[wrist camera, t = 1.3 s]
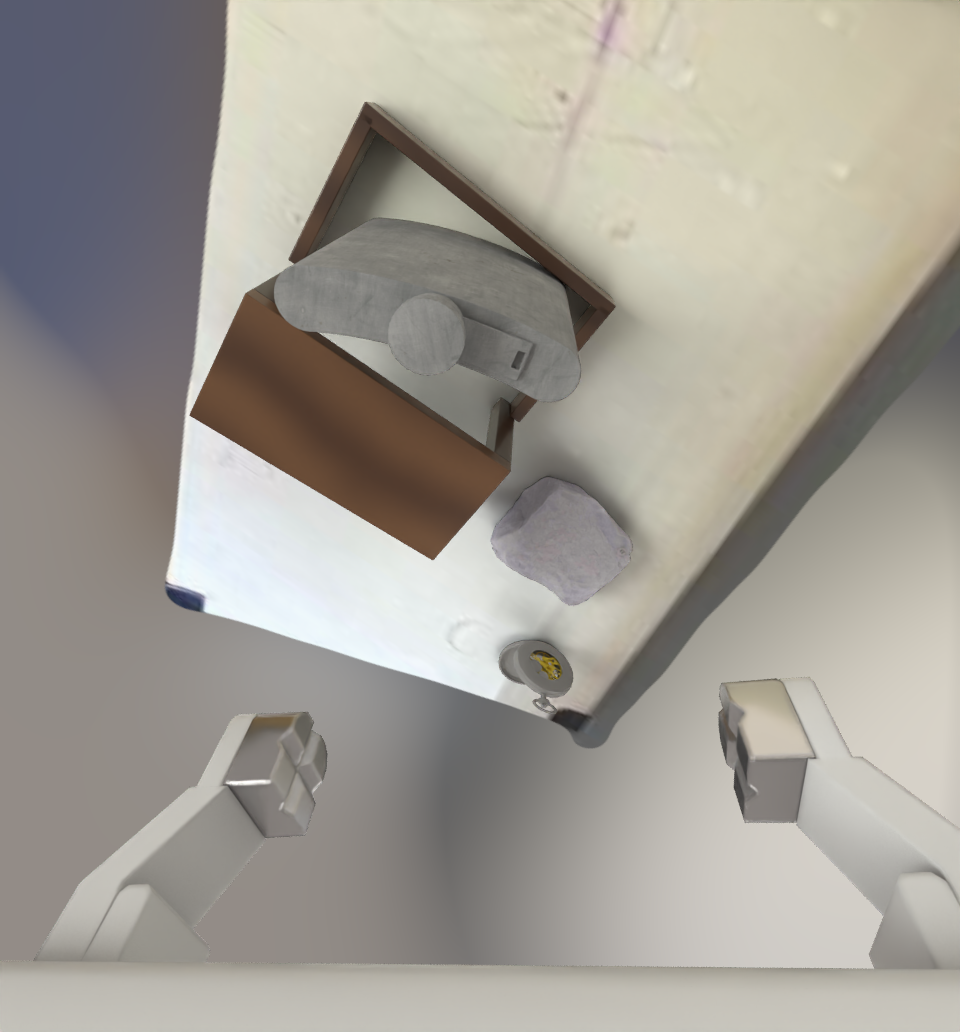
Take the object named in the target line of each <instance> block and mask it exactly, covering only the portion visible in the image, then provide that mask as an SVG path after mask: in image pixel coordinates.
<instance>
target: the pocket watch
mask: <svg viewBox="0 0 960 1032" xmlns="http://www.w3.org/2000/svg"><path fill="white" fill-rule="evenodd" d="M499 668H500V670H501V672H502V674H503V675H504V676H505V677H507V678H508V679H509V680H511V681H513V682H515V683H518V684H523V685H527V686H528V687H529V688H530V689H532V690H533V691H535V692H536V693H538V694H540V695H541V698H539V699H535V700H533V704H534V705H535V706H536V707H537V708H538V709H540V710H542V711H544V712H546V713H550V714H555V713H556V712H557V710H556V708H555V707H554V706H553V705H551V704H550V702H549V701H548V699H546V697H550V698H557V697H560V696H563V695H565V694H566V693H567V692H568V690H569V689H570V688H571V685H572V682H573V672H572V669H571V666H570V664H569V662H568V661H567V659H566V658H565V657H564V656H563V655H562V654H561V653H560V652H559V651H558V650H557V649H556V648H554V647H552V646H551V645H549V644H547V643H545V642H541V641H535V640H523V641H518V642H514V643H512V644H510V645H509V646H507V647H506V648H505V649H504V650H503V651H502V652H501V654H500V658H499ZM556 672H557V673H556ZM555 674H558V678H557V677H556V676H555ZM553 676H554V677H553ZM552 677H553V678H555V679H556V680H555V679H553V678H552ZM537 701H538V702H539V704H541V707H542V708H546V706H548V705H549V706H551V707H552V708H553V709H554V711H552V712H551V711H547V710H544V709H542V708H541V707H539V706H538V705H537V704H536V703H535V702H537Z"/></svg>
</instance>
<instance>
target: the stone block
mask: <svg viewBox="0 0 960 1032" xmlns="http://www.w3.org/2000/svg"><path fill="white" fill-rule="evenodd" d="M491 544H492V546H493V547H492V549H493V550H494V552H495V554H496V556H497V557H498V558H499V559H500V560H501V561H502V562H504V563H505V564H506V565H507V566H508V567H509V568H511V569H512V570H514V571H516V572H518V573H519V574H521V575H523V576H525V577H527V578H529V579H531V580H534V581H536V582H538V583H540V584H542V585H544V586H545V587H547V588H548V589H549V590H550V591H552V592H554V593H555V594H556V595H557V596H558V597H559V599H560V600H561V601H562V602H564V603H565V604H567V605H578V604H580V603H582V602H584V601H587V600H588V599H589V598H590V597H592V596H593V595H594V594H595V593H596V592H597V591H598V590H600V589H601V588H602V587H604V586H605V585H606V584H607V583H609V582H610V581H611V580H613V579H614V578H615V577H616V576H617V575H618V574H619V573H620V572H621V571H622V570H623V569H624V568H625V567H626V566H627V564H628V563H629V562H630V560H631V557H630V553H631V552H632V549H633V544H632V541H631V539H630V537H629V536H628V535H627V534H626V533H625V532H624V531H623V530H622V529H621V528H620V527H619V526H618V525H617V524H616V522H615V520H614V519H613V518H611V517H610V516H609V514H608V513H607V512H606V510H605V509H604V508H603V507H602V506H601V505H600V504H599V503H598V502H597V500H596V499H594V498H592V497H591V496H589V495H588V494H587V493H586V492H585V491H583V489H582V488H581V487H579V486H577V485H575V484H572V483H568V482H565V481H561V480H559V479H556V478H551V477H544V478H543V479H541V480H540V481H538V482H537V483H535V484H534V485H532V486H530V487H528V488H526V489H525V490H524V491H523V492H522V494H521V496H520V498H519V499H518V500H517V501H516V503H515V505H514V506H513V507H512V508H511V509H510V511H508V512H507V513H506V515H505V516H504V517H503V518H502V519H501V520H500V522H499V523H498V524H497V525H496V526H495V528H494V530H493V533H492V536H491Z"/></svg>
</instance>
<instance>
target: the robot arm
mask: <svg viewBox="0 0 960 1032" xmlns="http://www.w3.org/2000/svg"><path fill="white" fill-rule="evenodd" d="M719 697H720V700H721V703H722V707H723V709H722V710H721V711H720V712H719V733H720V740H721V745H722V748H723V752H724V756H725V760H726V763H727V765H728V766H730V767H731V768H732V769H733V770H734V771H735V772H734V790H735V793H736V796H737V799H738V802H739V806H740V809H741V812H742V815H743V818H744V822H745V823H788V822H789V823H797V826H798V827H799V828H800V829H801V830H802V832H803V833H804V834H805V835H806V836H807V837H808V838H809V839H810V840H811V841H812V842H813V843H814V844H815V845H816V846H817V847H818V848H819V849H820V850H821V851H822V852H823V853H824V854H825V855H826V856H827V857H828V858H829V860H830V861H831V862H832V863H833V864H834V865H835V866H836V867H837V868H838V869H839V870H840V871H841V872H842V873H843V874H844V875H845V876H846V877H847V878H848V879H849V880H850V881H851V882H852V884H853V885H854V886H855V887H856V888H857V889H858V890H859V891H860V892H861V893H862V894H863V895H864V896H865V897H866V898H867V899H868V900H869V901H870V902H871V903H872V904H873V905H874V906H875V908H876V909H877V910H878V911H879V912H880V913H881V914H882V915H883V916H884V917H883V919H882V922H881V924H880V927H879V930H878V932H877V935H876V938H875V940H874V943H873V945H872V948H871V951H870V953H869V956H870V959H871V961H872V964H873V966H874V969H841V968H839V969H837V968H836V969H835V968H834V969H833V968H736V967H734V968H732V967H631V966H627V967H626V966H528V965H526V966H525V965H424V964H423V965H422V964H421V965H419V964H416V965H415V964H315V963H313V964H312V963H310V964H309V963H206V962H207V959H208V956H209V954H210V949H209V946H208V944H207V943H206V942H205V941H204V940H203V939H202V938H201V937H200V936H199V935H198V934H197V933H196V931H194V928H195V926H196V925H197V924H198V923H199V921H200V920H201V919H202V918H203V917H204V915H205V914H206V913H207V912H208V911H209V909H210V908H211V907H212V906H213V904H214V903H215V902H216V901H217V900H218V898H219V897H220V896H221V894H222V893H223V892H224V891H225V890H226V889H227V887H228V886H229V885H230V884H231V882H232V881H233V880H234V879H235V878H236V877H237V875H238V874H239V873H240V872H241V870H242V869H243V868H244V867H245V866H246V864H247V863H248V862H249V860H251V858H252V857H253V856H254V855H255V853H256V852H257V851H258V850H259V849H260V847H261V846H262V845H263V844H264V842H265V841H266V839H265V838H274V837H290V836H305V835H306V832H307V829H308V825H309V822H310V819H311V816H312V813H313V810H314V807H315V801H314V798H313V795H312V793H313V792H314V790H315V789H316V788H317V787H318V786H319V785H320V784H321V783H322V782H323V779H324V775H325V772H326V767H327V750H326V745H325V742H324V740H323V738H322V736H321V735H319V734H317V733H316V732H314V731H313V730H311V729H312V726H313V724H314V721H313V720H312V718H311V716H310V715H309V713H308V712H288V713H261V714H243V715H236V716H235V717H234V718H233V719H232V720H231V721H230V722H229V724H228V727H227V728H226V730H225V732H224V734H223V736H222V738H221V740H220V742H219V744H218V746H217V748H216V750H215V752H214V754H213V756H212V758H211V760H210V761H209V763H208V765H207V767H206V769H205V771H204V773H203V775H202V777H201V779H200V781H199V783H198V785H197V787H190V788H189V789H187V790H186V791H185V792H184V793H183V794H182V795H181V796H179V797H178V798H177V799H176V800H175V801H174V802H173V803H171V804H170V805H169V806H168V807H167V808H166V809H164V810H163V811H162V812H161V813H160V814H159V815H158V816H156V817H155V818H154V819H153V820H152V821H151V822H149V823H148V824H147V825H146V826H145V827H144V828H143V829H141V830H140V831H139V832H138V833H137V834H136V835H135V836H133V837H132V838H131V839H130V840H129V841H128V842H126V843H125V844H124V845H123V846H122V847H121V848H119V849H118V850H117V851H116V852H115V853H114V854H113V855H111V856H110V857H109V858H108V859H107V860H106V861H104V862H103V863H102V864H101V865H100V866H99V867H98V868H96V869H95V870H94V871H93V872H92V873H91V874H90V875H88V876H87V877H86V878H85V879H84V880H83V881H81V882H80V883H79V885H78V887H77V888H76V890H75V892H74V893H73V895H72V897H71V898H70V900H69V902H68V904H67V906H66V907H65V908H64V910H63V912H62V913H61V915H60V917H59V919H58V920H57V922H56V923H55V925H54V927H53V928H52V930H51V932H50V934H49V935H48V937H47V938H46V940H45V942H44V943H43V945H42V947H41V948H40V951H39V952H38V954H37V955H36V957H35V958H34V960H33V961H0V1032H960V828H958V827H957V826H955V825H954V824H953V823H951V822H950V821H949V820H947V819H946V818H945V817H943V816H942V815H941V814H939V813H938V812H936V811H935V810H934V809H932V808H931V807H929V806H928V805H927V804H926V803H924V802H923V801H922V800H920V799H919V798H917V797H916V796H914V795H913V794H912V793H911V792H909V791H908V790H906V789H905V788H903V787H902V786H901V785H900V784H898V783H897V782H896V781H894V780H893V779H891V778H890V777H889V776H887V775H886V774H885V773H883V772H882V771H881V770H879V769H878V768H877V767H875V766H874V765H873V764H871V763H870V762H868V761H867V760H866V759H864V758H863V757H852V755H851V753H850V751H849V749H848V747H847V745H846V743H845V741H844V739H843V737H842V735H841V733H840V731H839V729H838V727H837V726H836V724H835V722H834V720H833V718H832V716H831V714H830V712H829V710H828V708H827V706H826V704H825V702H824V700H823V698H822V696H821V694H820V692H819V690H818V688H817V686H816V684H815V682H814V681H813V680H812V679H811V678H810V677H801V678H786V679H779V680H778V679H764V680H752V681H739V682H727V683H721V685H720V692H719Z"/></svg>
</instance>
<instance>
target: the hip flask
mask: <svg viewBox="0 0 960 1032" xmlns="http://www.w3.org/2000/svg"><path fill="white" fill-rule="evenodd" d="M274 299H275V303H276V306H277V308H278V310H279V312H280V313H281V315H282V316H283V317H284V319H285V320H286V321H287V322H289V323H290V324H291V325H292V326H294V327H296V328H298V329H301V330H303V331H309V332H321V333H331V334H338V335H346V336H352V337H358V338H363V339H369V340H373V341H378V342H383V343H387V344H389V346H390V348H391V349H392V353H393V354H394V356H395V357H396V359H397V360H398V361H399V362H400V363H401V365H403V366H404V367H406V368H407V369H408V370H411V371H412V372H414V373H418V374H420V375H428V376H429V375H437V374H439V373H443V372H445V371H447V370H449V369H450V368H451V367H452V366H454V365H455V364H458V365H461V366H464V367H467V368H469V369H472V370H474V371H477V372H479V373H482V374H484V375H487V376H489V377H491V378H494V379H496V380H498V381H501V382H503V383H505V384H507V385H509V386H511V387H513V388H515V389H517V390H519V391H521V392H523V393H524V394H526V395H528V396H530V397H532V398H534V399H536V400H538V401H542V402H556V401H559V400H562V399H564V398H566V397H567V396H569V395H570V394H571V393H572V392H573V391H574V390H575V388H576V387H577V385H578V383H579V380H580V377H581V366H580V360H579V355H578V350H577V345H576V340H575V335H574V330H573V325H572V320H571V315H570V309H569V304H568V299H567V294H566V289H565V285H564V283H563V282H562V281H561V280H560V279H559V278H557V277H556V276H555V275H554V274H552V273H551V272H550V271H549V270H547V269H546V268H545V267H543V266H542V265H540V264H538V263H536V262H534V261H532V260H530V259H528V258H526V257H524V256H522V255H520V254H518V253H515V252H513V251H511V250H508V249H506V248H504V247H501V246H499V245H496V244H493V243H491V242H488V241H485V240H482V239H479V238H476V237H473V236H470V235H467V234H464V233H460V232H457V231H454V230H450V229H446V228H442V227H438V226H434V225H429V224H424V223H419V222H413V221H406V220H399V219H389V218H373V219H371V220H369V221H367V222H366V223H364V224H362V225H360V226H359V227H357V228H355V229H354V230H352V231H350V232H348V233H347V234H345V235H343V236H342V237H340V238H338V239H336V240H335V241H333V242H331V243H330V244H328V245H326V246H324V247H323V248H321V249H319V250H318V251H316V252H314V253H312V254H311V255H309V256H307V257H306V258H304V259H302V260H300V261H299V262H297V263H295V264H294V265H292V266H290V267H288V268H287V269H285V270H284V271H283V272H282V273H281V274H280V275H279V276H278V278H277V280H276V282H275V286H274Z"/></svg>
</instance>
